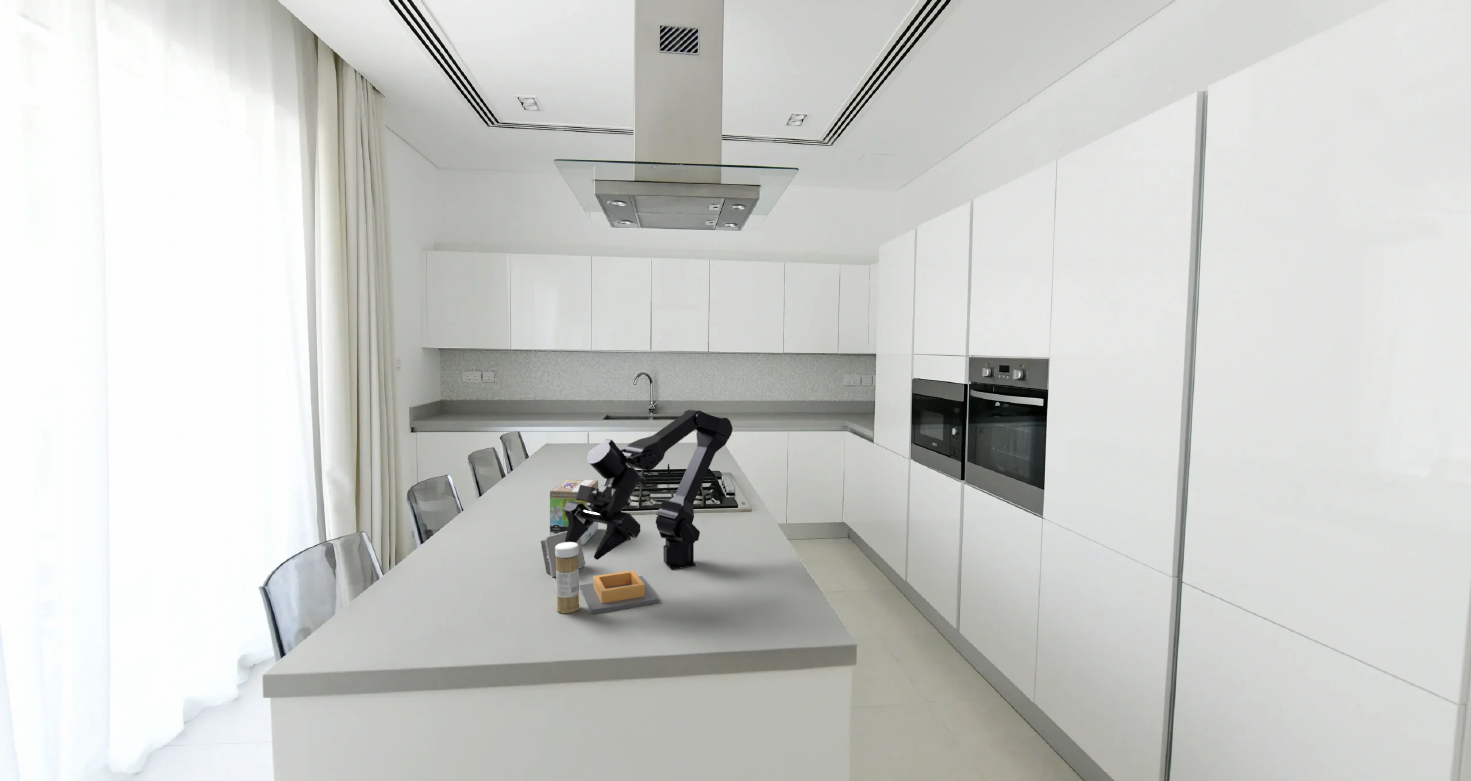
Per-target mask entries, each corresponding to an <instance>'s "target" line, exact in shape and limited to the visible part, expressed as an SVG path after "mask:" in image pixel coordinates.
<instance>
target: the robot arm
mask: <svg viewBox="0 0 1471 781" xmlns="http://www.w3.org/2000/svg"><path fill="white" fill-rule="evenodd" d="M693 431H696V442H697V444H696V447H695V449H694V452H693V454H692V457H691V459H690V460H689V463H688V465H687V468H686V470H685V472H684V474H683V477H682V479H681V481H680V483H679V485H678V488H677V490H676V492H675V494H674V496H672V497H671V499H669V500H668V499H663V500H662V502H660V503H661V504H660V507H659V509H658V510H657V512H656V513H655V516H656V518H655V525H656V529H657V531H658V532H659V536H660V538H661V539H665V544H664V545H663V546H662V548H663V549H662V550H663V553H662V554H663V562H664V564H665V565H666V566H667V567H668V568H669V569H670V570H675V569H676V570H677V569H684V568H690V567H695V566H697V563H696V561H695V558H694V556H695V555H694V552H695V551H694V544H695V542H698V541H699V540H700V534H701V532H700V530H699V529H698V528H697V527H696V525H695V524H693V522H694V520H695V519H694V518H695V513H694V503H695V501H696V499H697V495H698V494H699V492H700V489H701V486H702V484H703V482H704V481H705V480H704V479H705V478H706V476H707V472H708V470H709V469H710V466H711V465H712V461H713V459H714V456H715V454H716V453H717V452H718V451H719V450H720V449H722V448H723V447H724V446H726V444H727V443H728V441H729V439H730V437H731V435H732V434H733V425H732V422H731V419H729V418H728V417H721V416H714V415H712V414H709V413H706V412H704V411H702V410H699V409H698V410H697V409H687V410H685V411H684V412H683V413H682V415H680V416H678V417H677V418H676V419H674V420H672V421H671V422H670V423H669V424H666V426H664V427H663V428H661V429H660V430H658V431H657V432H655V433H654V434H652V435H651V436H648V437H647V436H646V437H643V438H640V439H637V440H634V441H632V442H630V443H628V444H627V446H626V447H625V448H623V449H620V448H619V447H618V446H617V444H616V443H615V441H614V440H613V439H609V438H606V439H605V440H604V441H603V442H601V443H599V444H597V445H596V446H594V447H593V448H591V449H590V450H589V452H588V453H587V456H586V461H587V463H588V464H589V465H590V466H592V468H593V469H594V470H595V471H596V472H597V473H598V474H599V475H600V476H601V477H602V478H603V479H606V480H609V479H610V480H609V481H608V482H607V484H606V485H600V486H599V487H598V488H594V487H590V486H584V485H580V487H579V490H578V493H577V496H576V500H582V501H585V502H588V503H587V506H588V507H589V508H591V509H592V511H589V510H588V509H587V508H586V507H585V506H584V505H583V504H582V503H578V502H574V501H570V502H567V504H566V505H565V507H564V508H563V511H564V512H565V516H566V517H567V518H568V523H569V524H568V530H567V535H566V539H565V542H574V543H576V542H577V541H578V540H579V538H580V537H581V536H582V535H583V534H584V533H585V532H586V531H587V530H588V528H587V527H586V526H588V525H590V524H591V523H592V521H595V522H598V524H599V523H600V524H603V525H606V530H605V533H604V536H603V538H602V539H601V541H600V543H599V545H598V547H597V548H596V550H595V553H594V555H593V558H594V559H595V560H597V561H598V560H599V559H601V558H602V557H604V556H605V555H607V554H608V553H610V552H612V550H614V549H615V548H618V547H619V546H621V545H622V544H623V543H626V542H627V541H629V542H630V541H631V539H632V538H633V539H637V538H638V536H639V535H640V532H641V524H640V523H639V522H638V521H637V520H636V518H635V517H634V516H633V515H632V514H630V513H629V512H624V511H623V509H624V508H629V507H630V506H631V503H630V502H629V499H630V498H631V497H632V494H633V493H634V491H635V489H636V487H637V486H641V487H646V486H647V481H646V479H645V474H644V473H640V472H638V470H636V469H639V470H643V471H652V470H654V469H655V468H656V467H657V466H658V465H659V464H660V463H661V462H662V460H664V458H665V454H666V453H667V451H668V450H670V449H671V448H672V447H674V446H675V445H676V444H678V443H680V441H681V440H683V439H684V438H686V437H687V436H688V435H690V434H692V432H693Z"/></svg>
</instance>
